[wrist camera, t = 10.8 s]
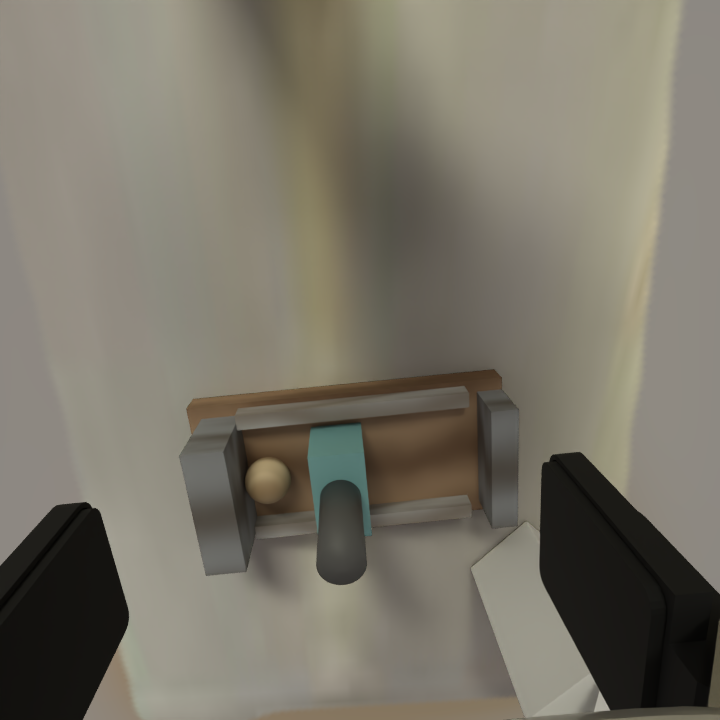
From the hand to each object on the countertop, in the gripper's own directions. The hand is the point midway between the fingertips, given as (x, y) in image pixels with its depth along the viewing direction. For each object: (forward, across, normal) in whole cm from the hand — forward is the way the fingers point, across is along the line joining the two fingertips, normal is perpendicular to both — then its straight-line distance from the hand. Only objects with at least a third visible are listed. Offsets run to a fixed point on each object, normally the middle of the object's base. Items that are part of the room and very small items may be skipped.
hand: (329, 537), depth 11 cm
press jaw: (+28, +1, +14) cm, 31 cm away
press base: (+30, 0, +14) cm, 33 cm away
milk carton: (+31, -15, +28) cm, 44 cm away
